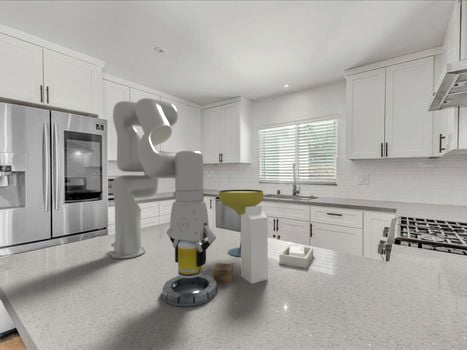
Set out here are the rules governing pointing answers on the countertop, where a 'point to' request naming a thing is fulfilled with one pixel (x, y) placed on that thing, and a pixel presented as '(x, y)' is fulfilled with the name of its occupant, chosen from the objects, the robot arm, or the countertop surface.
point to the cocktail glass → (240, 205)
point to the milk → (254, 245)
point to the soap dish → (296, 261)
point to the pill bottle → (188, 259)
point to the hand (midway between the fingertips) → (190, 262)
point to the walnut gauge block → (223, 273)
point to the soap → (297, 251)
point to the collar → (189, 291)
